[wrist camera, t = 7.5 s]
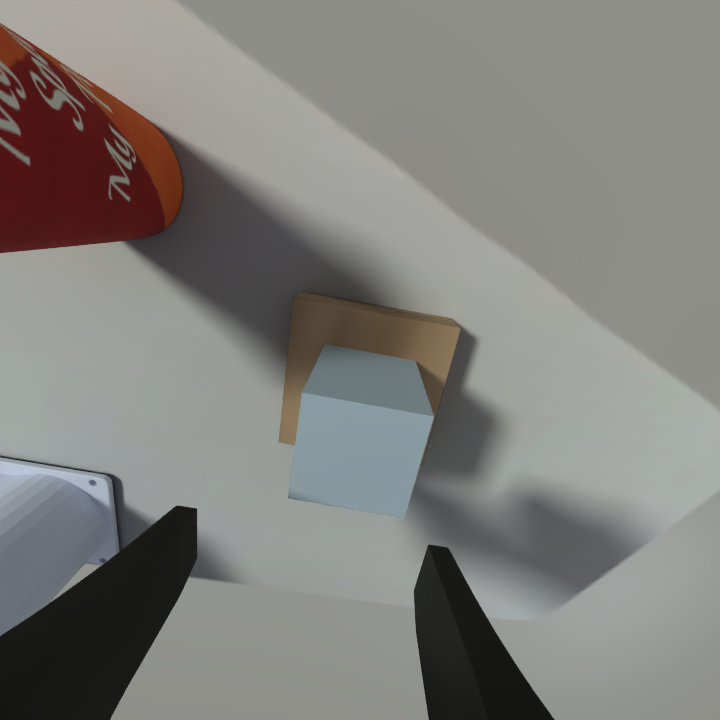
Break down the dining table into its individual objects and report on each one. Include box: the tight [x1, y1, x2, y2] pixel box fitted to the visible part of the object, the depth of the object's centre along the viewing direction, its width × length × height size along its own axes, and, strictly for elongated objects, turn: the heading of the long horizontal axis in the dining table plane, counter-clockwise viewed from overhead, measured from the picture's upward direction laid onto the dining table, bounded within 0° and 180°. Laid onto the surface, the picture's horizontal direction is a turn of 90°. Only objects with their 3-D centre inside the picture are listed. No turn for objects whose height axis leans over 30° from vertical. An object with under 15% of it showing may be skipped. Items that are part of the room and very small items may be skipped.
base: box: [279, 292, 461, 466], centre depth 18 cm, size 8×8×2 cm
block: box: [288, 344, 434, 518], centre depth 15 cm, size 4×4×6 cm
